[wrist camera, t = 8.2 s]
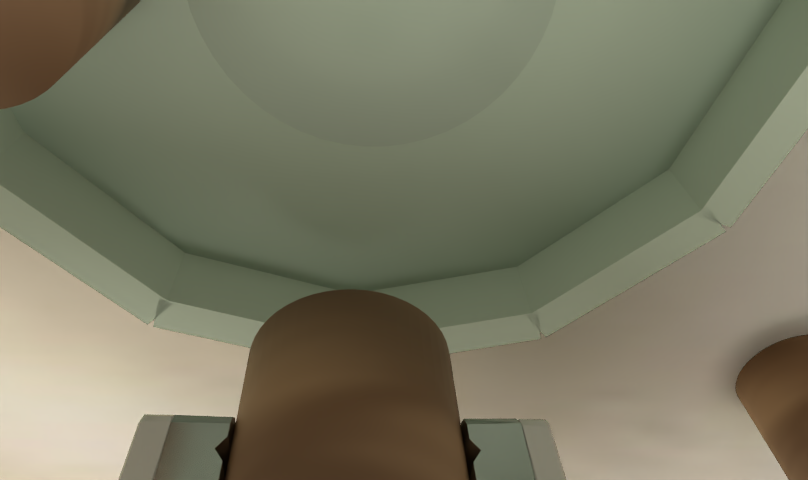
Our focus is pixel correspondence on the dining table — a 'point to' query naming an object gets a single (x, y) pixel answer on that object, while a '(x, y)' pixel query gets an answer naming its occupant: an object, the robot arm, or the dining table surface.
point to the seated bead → (49, 41)
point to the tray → (402, 154)
